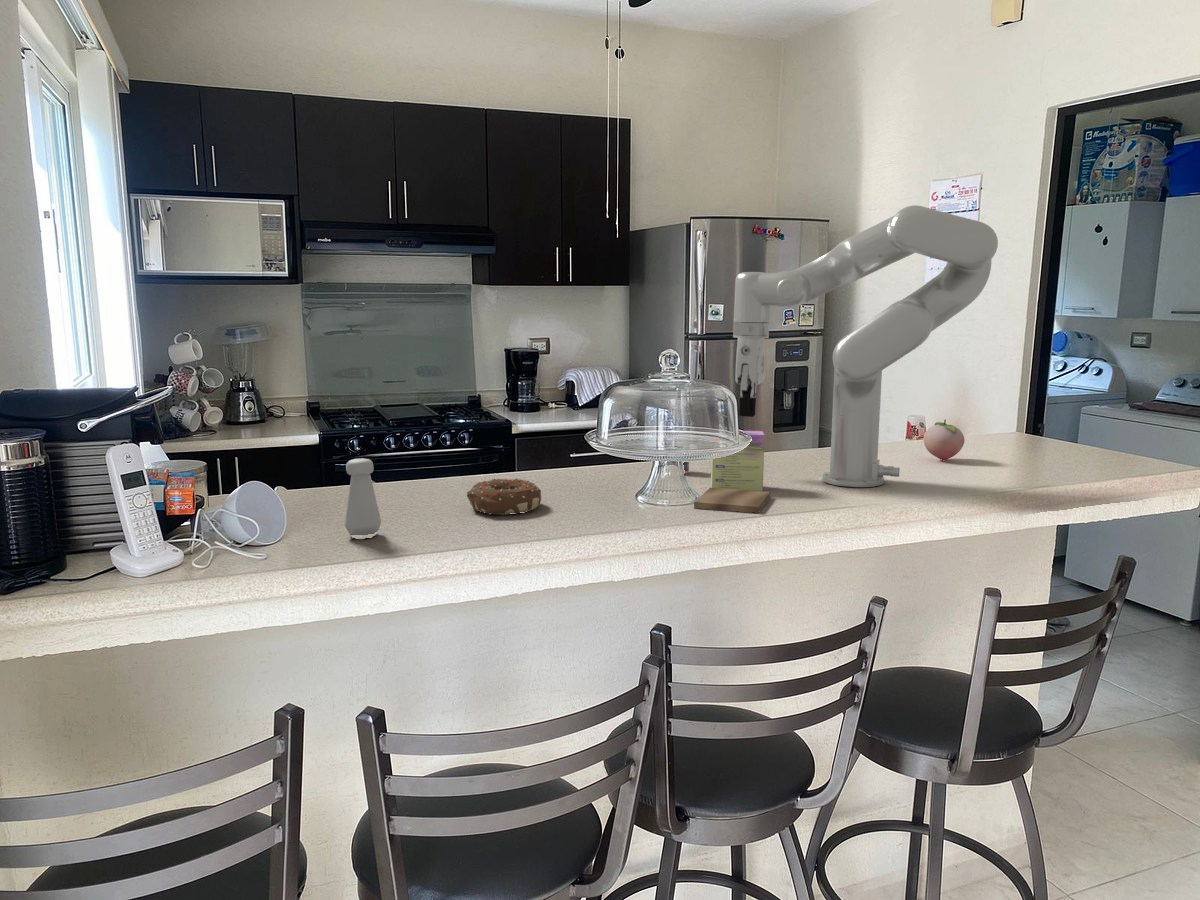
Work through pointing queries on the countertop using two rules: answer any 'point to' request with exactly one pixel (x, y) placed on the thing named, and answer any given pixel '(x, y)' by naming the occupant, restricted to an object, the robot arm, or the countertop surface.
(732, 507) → the board
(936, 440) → the decorative fruit
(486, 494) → the donut
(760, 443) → the box
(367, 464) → the salt shaker
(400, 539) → the countertop surface
